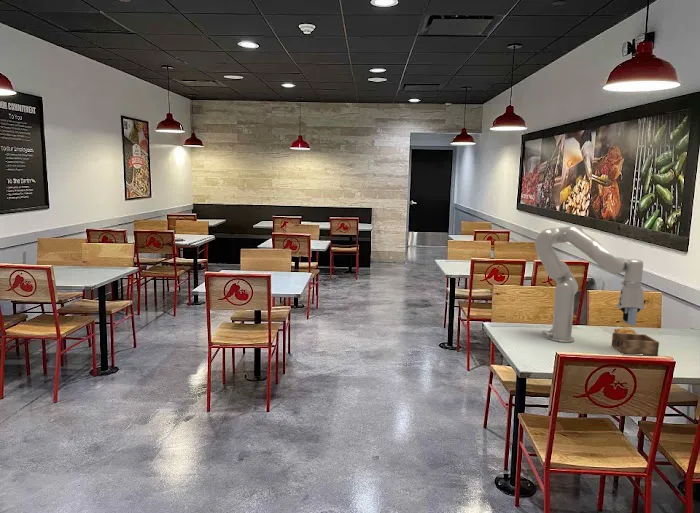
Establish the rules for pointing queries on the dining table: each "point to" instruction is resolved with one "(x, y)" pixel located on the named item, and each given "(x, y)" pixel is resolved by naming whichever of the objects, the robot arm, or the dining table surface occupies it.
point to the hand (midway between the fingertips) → (628, 320)
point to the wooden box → (635, 344)
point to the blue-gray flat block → (631, 316)
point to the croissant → (625, 330)
